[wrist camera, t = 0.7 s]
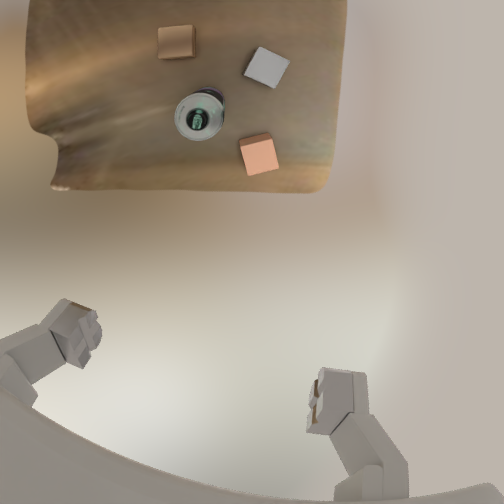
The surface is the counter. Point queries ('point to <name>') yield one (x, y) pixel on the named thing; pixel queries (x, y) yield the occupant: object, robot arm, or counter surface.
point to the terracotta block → (258, 154)
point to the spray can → (200, 114)
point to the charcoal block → (266, 67)
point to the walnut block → (176, 42)
